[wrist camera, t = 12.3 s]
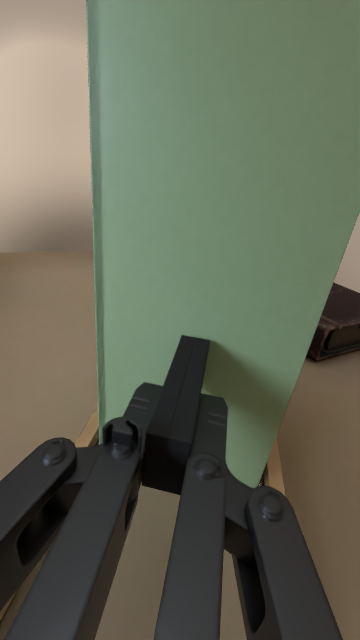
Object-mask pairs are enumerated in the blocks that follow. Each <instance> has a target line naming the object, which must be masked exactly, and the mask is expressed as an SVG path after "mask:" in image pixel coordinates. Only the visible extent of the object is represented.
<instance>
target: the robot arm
mask: <svg viewBox="0 0 360 640" xmlns="http://www.w3.org/2000/svg"><path fill="white" fill-rule="evenodd" d="M209 346H210V340H206V339H201V338H196V337H190V336H185V335H182V336H181V338H180V341H179V344H178V347H177V349H176V352H175V355H174V357H173V360H172V363H171V366H170V368H169V371H168V374H167V376H166V379H165V382H164V385H163V386H161V385H156V384H151V383H147V382H144V383H143V384H141V385H140V386H139V387H138V388H136V390H135V392H134V394H133V396H132V399H131V400H130V402H129V404H128V406H127V408H126V410H125V412H124V414H123V416H122V417H117V418H113V419H111V420H110V421H108V422H107V423H106V424H105V425H104V426H103V427H102V437H103V443H102V444H100V445H97V446H91V447H75V444H74V443H73V442H72V441H71V440H70V439H66V438H53V439H50V440H47V441H45V442H44V443H43V444H41V445H40V446H38V447H37V448H36V449H35V450H34V451H33V452H32V453H31V454H30V455H29V456H27V457H26V458H25V459H24V460H23V461H22V462H21V463H20V464H19V465H18V466H17V467H15V468H14V469H13V470H12V471H11V472H10V473H9V474H8V475H7V476H6V477H5V478H3V479H2V480H1V481H0V612H1V611H2V609H3V608H4V607H5V605H6V604H7V603H8V601H9V600H10V599H11V597H12V596H13V595H14V593H15V592H16V591H17V589H18V588H19V587H20V585H21V584H22V583H23V581H24V580H25V579H26V577H27V576H28V575H29V573H30V572H31V571H32V569H33V568H34V567H35V566H36V564H37V563H38V562H39V560H40V559H41V558H42V556H43V555H44V554H45V552H46V551H47V550H48V548H49V547H50V546H51V544H52V543H53V544H52V546H51V548H50V550H49V552H48V554H47V556H46V558H45V560H44V562H43V564H42V566H41V568H40V570H39V572H38V574H37V576H36V578H35V580H34V582H33V584H32V586H31V588H30V589H29V591H28V593H27V595H26V597H25V599H24V601H23V603H22V605H21V607H20V609H19V611H18V613H17V615H16V617H15V619H14V621H13V623H12V625H11V627H10V629H9V631H8V633H7V635H6V637H5V639H4V640H94V639H95V636H96V633H97V629H98V626H99V623H100V620H101V617H102V613H103V610H104V607H105V604H106V601H107V597H108V594H109V591H110V588H111V585H112V581H113V578H114V575H115V572H116V569H117V565H118V562H119V559H120V556H121V553H122V549H123V546H124V543H125V540H126V536H127V533H128V530H129V527H130V524H131V520H132V517H133V514H134V511H135V508H136V504H137V500H138V491H139V488H140V485H141V482H142V486H146V487H150V488H154V489H158V490H162V491H166V492H170V493H174V494H178V495H181V497H180V502H179V508H178V513H177V518H176V524H175V529H174V534H173V539H172V545H171V550H170V555H169V561H168V566H167V571H166V576H165V582H164V587H163V592H162V598H161V603H160V608H159V613H158V619H157V624H156V629H155V635H154V640H219V638H220V617H221V595H222V574H223V552H224V549H225V550H226V551H228V552H229V553H231V554H232V558H233V564H234V569H235V575H236V580H237V586H238V592H239V597H240V603H241V608H242V614H243V620H244V625H245V631H246V636H247V640H343V638H342V636H341V633H340V631H339V628H338V625H337V623H336V620H335V617H334V615H333V612H332V610H331V607H330V604H329V602H328V599H327V597H326V594H325V591H324V589H323V586H322V583H321V581H320V578H319V576H318V573H317V570H316V568H315V565H314V562H313V560H312V557H311V555H310V552H309V549H308V547H307V544H306V541H305V539H304V536H303V534H302V531H301V528H300V526H299V523H298V521H297V518H296V515H295V513H294V510H293V507H292V506H291V504H290V502H289V500H288V499H287V498H286V497H285V496H284V495H283V494H282V493H281V492H280V491H278V490H277V489H275V488H273V487H270V486H265V485H263V486H258V487H256V488H254V489H253V488H251V487H249V486H247V485H246V484H244V483H242V482H241V481H239V480H238V479H237V478H235V476H234V475H233V474H232V473H231V472H230V470H229V469H228V466H227V464H226V438H227V417H228V406H227V404H226V402H225V400H224V398H222V397H217V396H212V395H207V394H203V393H201V390H202V385H203V379H204V373H205V368H206V362H207V357H208V351H209Z"/></svg>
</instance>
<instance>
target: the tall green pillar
mask: <svg viewBox="0 0 360 640" xmlns="http://www.w3.org/2000/svg"><path fill="white" fill-rule="evenodd" d="M86 14H87V48H88V78H89V79H88V82H89V112H90V113H89V115H90V146H91V147H90V149H91V181H92V215H93V247H94V248H93V250H94V283H95V317H96V351H97V384H98V418H99V445H100V444H102V443H103V437H102V427H103V426H104V425H105V424H106V423H107V422H108V421H110V420H111V419H113V418H117V417H122V416H123V414H124V412H125V410H126V408H127V406H128V404H129V402H130V400H131V399H132V396H133V394H134V392H135V390H136V388H138V387H139V386H140V385H141V384H143V383H144V382H147V383H151V384H156V385H161V386H163V385H164V382H165V379H166V376H167V374H168V371H169V368H170V366H171V363H172V360H173V357H174V355H175V352H176V349H177V347H178V344H179V341H180V338H181V336H182V335H185V336H190V337H196V338H201V339H206V340H210V346H209V351H208V357H207V362H206V368H205V373H204V379H203V385H202V390H201V393H203V394H207V395H212V396H217V397H222V398H224V400H225V402H226V404H227V406H228V417H227V438H226V464H227V466H228V469H229V470H230V472H231V473H232V474H233V475H234V476H235V478H237V479H238V480H239V481H241V482H242V483H244V484H246V485H247V486H249V487H253V488H256V487H258V484H259V482H260V479H261V476H262V473H263V471H264V468H265V465H266V463H267V460H268V457H269V455H270V452H271V449H272V447H273V444H274V441H275V438H276V436H277V433H278V430H279V428H280V425H281V422H282V420H283V417H284V414H285V411H286V409H287V406H288V403H289V401H290V398H291V395H292V393H293V390H294V387H295V385H296V382H297V379H298V376H299V374H300V371H301V368H302V366H303V363H304V360H305V358H306V355H307V352H308V350H309V347H310V344H311V341H312V339H313V336H314V333H315V331H316V328H317V325H318V323H319V320H320V317H321V314H322V312H323V309H324V306H325V304H326V301H327V298H328V296H329V293H330V290H331V288H332V285H333V282H334V279H335V277H336V274H337V271H338V269H339V266H340V263H341V261H342V258H343V255H344V252H345V250H346V247H347V244H348V241H349V239H350V236H351V234H352V231H353V228H354V226H355V223H356V220H357V217H358V215H359V212H360V0H86Z"/></svg>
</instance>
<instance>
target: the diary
mask: <svg viewBox="0 0 360 640" xmlns="http://www.w3.org/2000/svg"><path fill="white" fill-rule="evenodd" d="M357 349H360V293H358V292H355V291H353V290H351V289H348V288H345V287H343V286H341V285H338V284H335V283H334V282H333V285H332V288H331V290H330V293H329V296H328V298H327V301H326V304H325V306H324V309H323V312H322V314H321V317H320V320H319V323H318V325H317V328H316V331H315V333H314V336H313V339H312V341H311V344H310V347H309V350H308V352H307V354H308V355H310V356H311V357H312V358H314V359H315V360H317V361H319V360H321V359H325V358H327V357H332V356H335V355H339V354H342V353H346V352H350V351H353V350H357Z"/></svg>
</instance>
